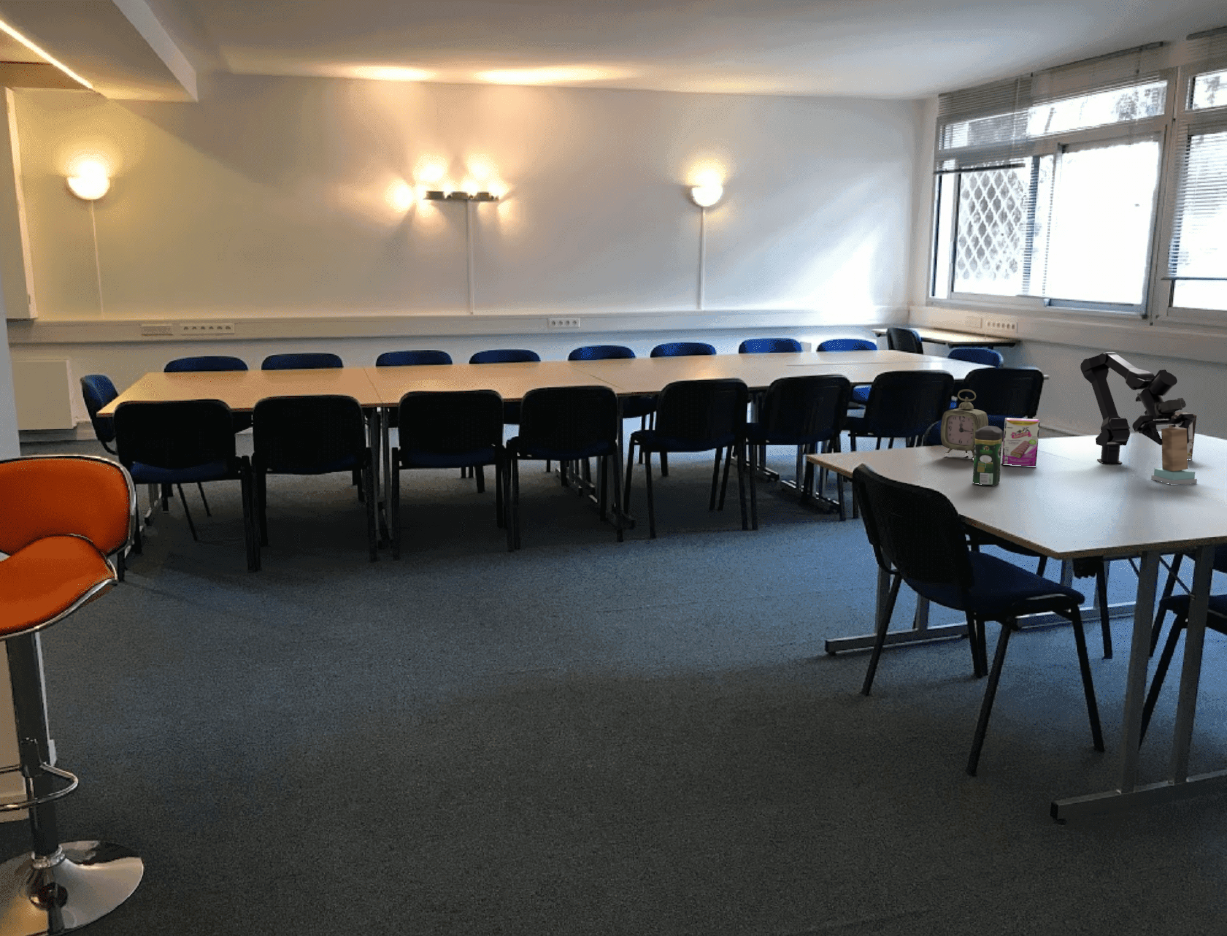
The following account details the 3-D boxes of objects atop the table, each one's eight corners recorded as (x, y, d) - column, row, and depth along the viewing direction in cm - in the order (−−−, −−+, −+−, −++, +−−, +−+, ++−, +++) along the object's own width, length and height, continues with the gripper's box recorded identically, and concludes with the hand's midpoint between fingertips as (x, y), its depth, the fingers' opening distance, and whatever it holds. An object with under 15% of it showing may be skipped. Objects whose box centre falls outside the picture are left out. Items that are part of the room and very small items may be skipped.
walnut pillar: (1162, 468, 313) (1161, 429, 310) (1176, 466, 313) (1175, 426, 311) (1173, 471, 308) (1172, 431, 305) (1187, 469, 308) (1186, 428, 306)
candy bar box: (1001, 466, 339) (1004, 419, 335) (1001, 463, 343) (1004, 417, 340) (1036, 468, 335) (1040, 420, 332) (1035, 465, 340) (1039, 418, 336)
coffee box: (1192, 460, 342) (1197, 415, 339) (1172, 460, 343) (1177, 415, 340) (1183, 455, 351) (1188, 411, 348) (1163, 455, 352) (1168, 411, 349)
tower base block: (1150, 481, 315) (1151, 474, 315) (1175, 479, 316) (1176, 473, 316) (1170, 487, 306) (1171, 480, 306) (1196, 485, 308) (1197, 479, 307)
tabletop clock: (939, 457, 357) (942, 389, 351) (951, 453, 362) (955, 386, 357) (976, 462, 346) (980, 392, 341) (988, 458, 352) (993, 389, 347)
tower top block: (1153, 475, 314) (1154, 468, 313) (1174, 473, 316) (1175, 466, 315) (1173, 480, 306) (1173, 473, 306) (1194, 478, 308) (1195, 471, 308)
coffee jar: (976, 479, 319) (979, 423, 315) (1001, 482, 315) (1005, 425, 311) (969, 485, 311) (972, 428, 307) (995, 488, 307) (999, 429, 303)
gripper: (1141, 390, 310) (1162, 430, 302) (1194, 388, 313) (1216, 428, 305) (1123, 411, 320) (1142, 450, 311) (1174, 409, 322) (1195, 448, 314)
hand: (1174, 443), depth 310 cm, fingers open, 9 cm apart
